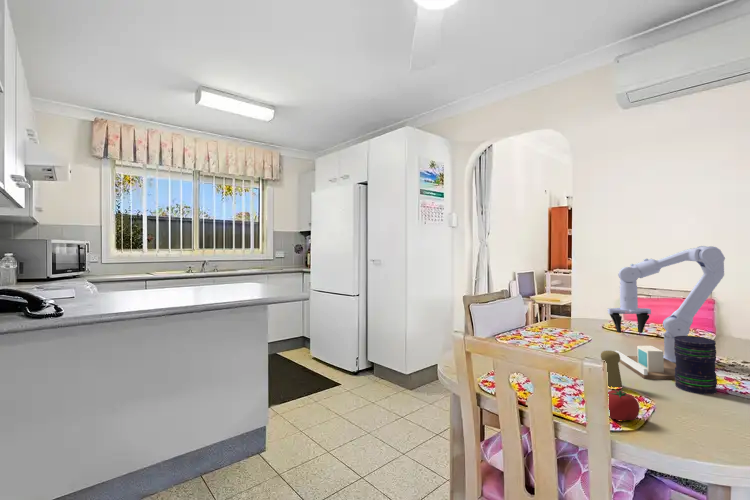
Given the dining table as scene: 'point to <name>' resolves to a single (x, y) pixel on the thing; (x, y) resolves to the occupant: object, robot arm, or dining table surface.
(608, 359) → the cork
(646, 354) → the carton
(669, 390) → the dining table surface
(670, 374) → the brown tray
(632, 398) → the tomato
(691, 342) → the dark blue cylinder
